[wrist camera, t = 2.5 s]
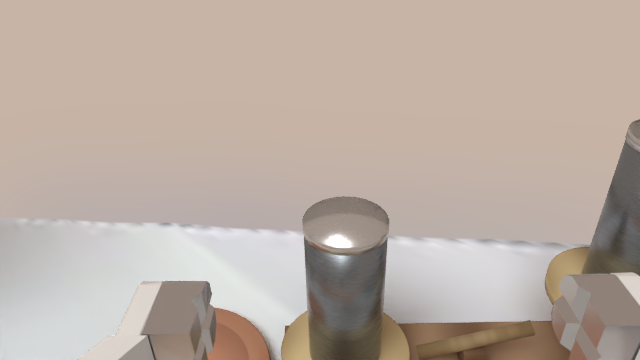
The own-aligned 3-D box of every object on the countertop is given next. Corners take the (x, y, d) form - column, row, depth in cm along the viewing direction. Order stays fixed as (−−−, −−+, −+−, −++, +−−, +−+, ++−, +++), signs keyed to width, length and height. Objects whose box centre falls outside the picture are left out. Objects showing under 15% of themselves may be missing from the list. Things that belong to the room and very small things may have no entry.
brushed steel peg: (308, 379, 32) (301, 247, 26) (309, 320, 36) (303, 197, 31) (385, 378, 32) (394, 246, 26) (377, 319, 36) (383, 195, 31)
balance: (279, 439, 32) (270, 352, 28) (287, 333, 40) (281, 252, 35) (690, 433, 32) (745, 344, 27) (617, 327, 39) (651, 245, 35)
